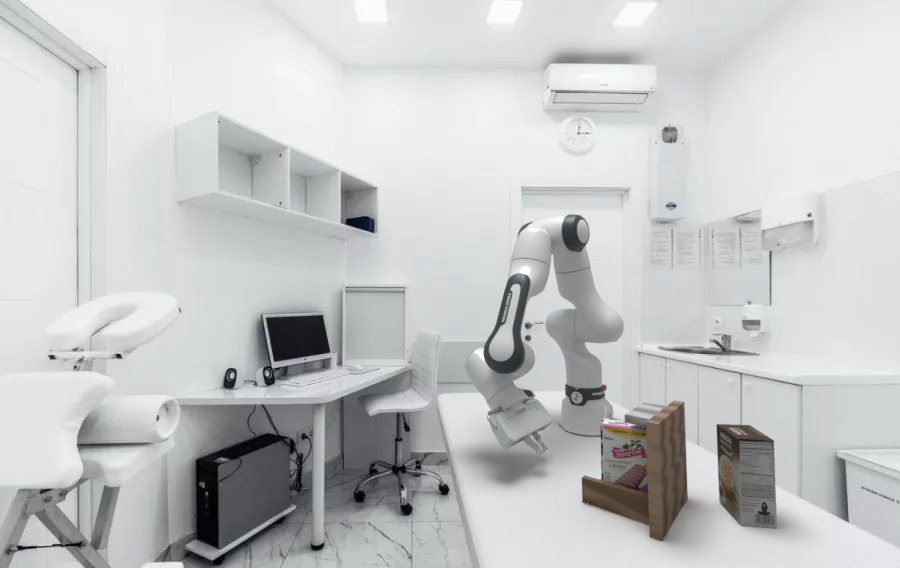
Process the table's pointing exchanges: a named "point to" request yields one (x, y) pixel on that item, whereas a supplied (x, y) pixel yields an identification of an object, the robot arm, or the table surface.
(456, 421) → the table surface
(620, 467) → the candy bar box
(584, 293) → the robot arm
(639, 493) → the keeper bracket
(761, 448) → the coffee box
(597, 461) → the table surface
